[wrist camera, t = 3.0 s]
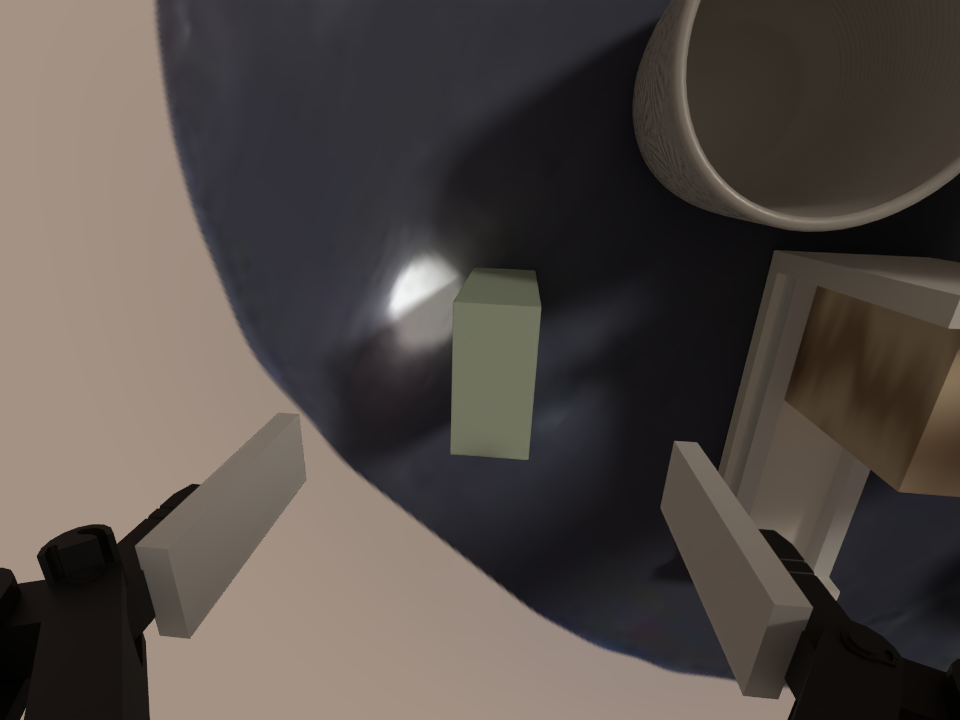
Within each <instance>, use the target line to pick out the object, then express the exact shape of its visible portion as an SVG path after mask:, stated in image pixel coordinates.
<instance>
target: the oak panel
mask: <svg viewBox="0 0 960 720" xmlns="http://www.w3.org/2000/svg"><path fill="white" fill-rule="evenodd" d="M784 400H785V401H786V402H787V403H788V404H790V405H791V406H792V407H793V408H795V409H796V410H797V411H798V412H800V413H801V414H802V415H803V416H805V417H806V418H807V419H808V420H810V421H811V422H812V423H813V424H815V425H816V426H817V427H818V428H820V429H821V430H822V431H823V432H824V433H826V434H827V435H828V436H829V437H831V438H832V439H833V440H834V441H836V442H837V443H838V444H839V445H841V446H842V447H843V448H844V449H846V450H847V451H848V452H849V453H851V454H852V455H853V456H854V457H856V458H857V459H858V460H859V461H860V462H862V463H863V464H864V465H865V466H867V467H868V468H869V469H870V470H872V471H873V472H874V473H875V474H877V475H878V476H879V477H880V478H882V479H883V480H884V481H885V482H887V483H888V484H889V485H890V486H892V487H893V488H894V489H895V490H897V491H898V492H905V493H918V494H930V495H943V496H956V497H960V329H950V328H945V327H942V326H939V325H936V324H933V323H930V322H927V321H924V320H921V319H918V318H915V317H912V316H909V315H906V314H903V313H900V312H897V311H894V310H890V309H887V308H884V307H881V306H878V305H875V304H872V303H869V302H866V301H863V300H860V299H857V298H854V297H851V296H848V295H845V294H842V293H839V292H836V291H832V290H829V289H826V288H823V287H820V286H817V289H816V292H815V296H814V299H813V302H812V306H811V309H810V313H809V316H808V319H807V323H806V326H805V330H804V333H803V336H802V340H801V343H800V347H799V350H798V353H797V357H796V360H795V364H794V367H793V371H792V374H791V377H790V381H789V384H788V388H787V391H786V394H785V398H784Z"/></svg>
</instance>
